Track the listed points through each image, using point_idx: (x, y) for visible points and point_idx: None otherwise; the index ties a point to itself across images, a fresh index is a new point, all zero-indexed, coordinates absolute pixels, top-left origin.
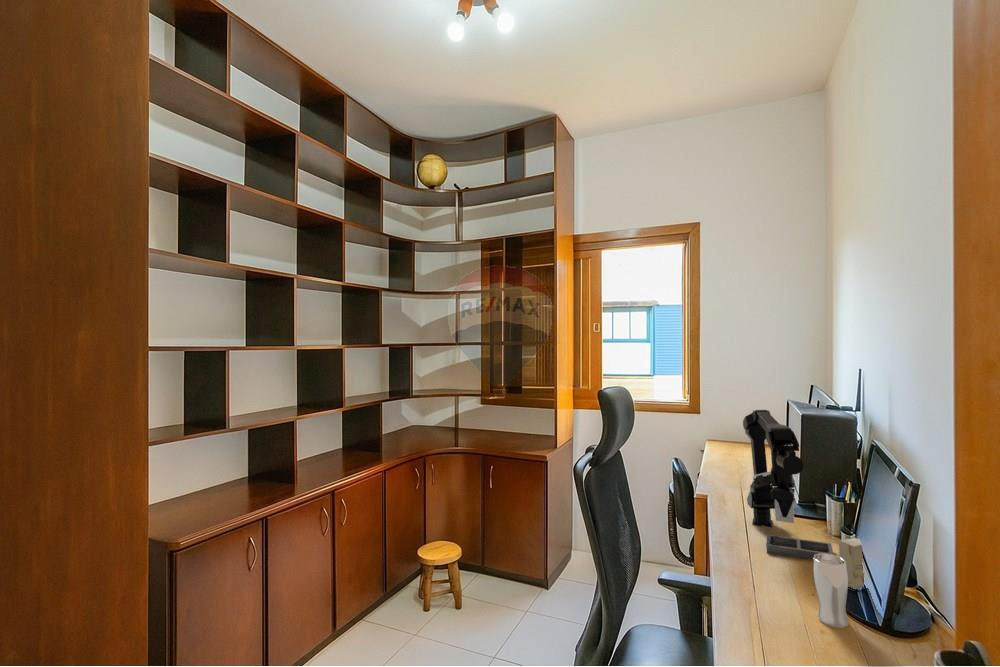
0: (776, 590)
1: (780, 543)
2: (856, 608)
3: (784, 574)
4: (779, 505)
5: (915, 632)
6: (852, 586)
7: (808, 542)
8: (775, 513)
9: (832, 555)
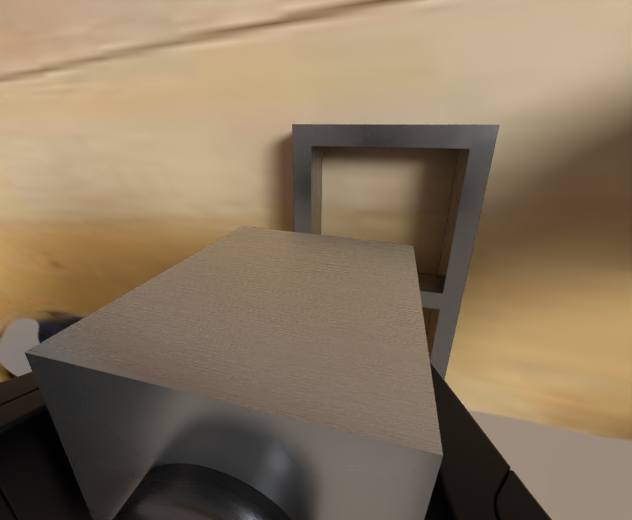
0: (5, 164)
1: (451, 201)
2: None
3: (127, 196)
4: (13, 382)
5: None
6: None
7: (432, 339)
8: (196, 254)
9: None
